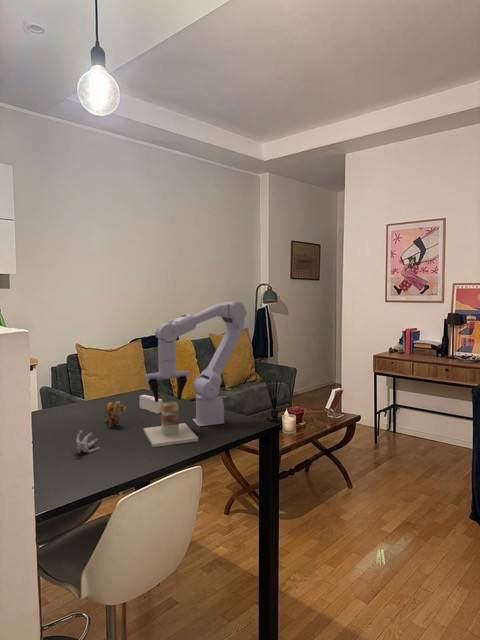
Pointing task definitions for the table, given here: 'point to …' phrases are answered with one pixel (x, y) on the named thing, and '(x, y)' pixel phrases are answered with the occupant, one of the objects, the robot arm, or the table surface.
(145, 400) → the beige rectangular block
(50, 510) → the table surface
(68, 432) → the table surface
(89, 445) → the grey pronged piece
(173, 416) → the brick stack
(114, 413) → the lion figurine
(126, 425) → the table surface
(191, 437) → the board
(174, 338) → the robot arm
